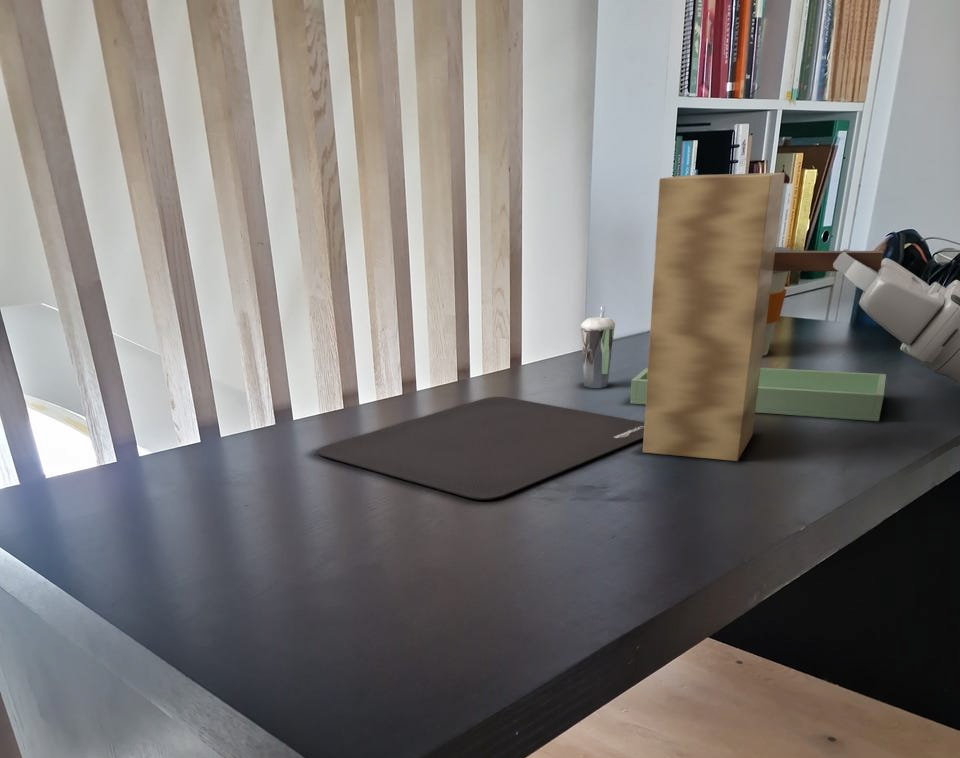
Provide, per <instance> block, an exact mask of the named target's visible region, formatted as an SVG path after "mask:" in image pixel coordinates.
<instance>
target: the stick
mask: <svg viewBox="0 0 960 758" xmlns="http://www.w3.org/2000/svg"><path fill="white" fill-rule="evenodd" d="M843 252H846V253H847V254H849V255H851V256H852V257H854V258H855V259H856V260H857V261H859V262H861V263H862V264H864V265H866V266H867V267H870V268H871V269H873V270H874V271H876V272H879V270H880V268H881V263H882V260H883V259H884V250H850V251H843V250H792V251H775V257H774V265H773V271H788V272H839V271H838V270H836V269H835V268H834V267H833V263H834V262H835V260H836V259H837V258H838V256H839V255H840V254H841V253H843Z"/></svg>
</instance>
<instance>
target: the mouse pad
mask: <svg viewBox="0 0 960 758" xmlns="http://www.w3.org/2000/svg"><path fill="white" fill-rule="evenodd" d="M644 423H645V421H639V420H633V419H627V418H622V417H617V416H611V415H606V414H601V413H595V412H589V411H584V410H578V409H573V408H568V407H562V406H557V405H552V404H551V405H550V404H546V403H545V404H544V403H540V402H534V401H528V400H523V399H518V398H512V397H506V396H491V397H486V398H482V399H479V400H475V401H472V402H469V403H465V404H462V405H458V406H455V407H451V408H448V409H444V410H442V411H438V412H435V413H432V414H428V415H424V416H421V417H418V418H414V419H412V420H408V421H404V422H400V423H398V424H394V425H392V426H387V427H384V428H380V429H377V430H374V431H371V432H368V433H364V434H361V435H358V436H354V437H351V438H347V439H343V440H341V441H337V442H335V443H334V442H333V443H330V444H327V445H324V446H322V447H319V448H318V449H317V450H316V454H317V455H319V456H321V457H323V458H326V459H331V460H334V461H337V462H340V463H346V464H348V465H351V466H355V467H359V468H362V469H366V470H369V471H373V472H376V473H379V474H383V475H386V476H390V477H394V478H398V479H400V480H404V481H408V482H411V483H415V484H418V485H421V486H426V487H428V488H432V489H437V490H439V491H443V492H446V493H450V494H454V495H457V496H460V497H463V498H468V499H471V500H478V501H489V500H496V499H500V498H503V497H507V496H508V495H511V494H513V493H516V492H518V491H521V490H523V489H526V488H528V487H530V486H533V485H535V484H538V483H540V482H542V481H545V480H546V479H550V478H552V477H554V476H557V475H559V474H561V473H563V472H566V471H569V470H571V469H573V468H576V467H579V466H581V465H583V464H586V463H588V462H590V461H593V460H595V459H598V458H600V457H602V456H606V455H607V454H610V453H613V452H614V451H617V450H619V449H622V448H624V447H627V446H628V445H631V444H633V443H637V442H638V441H641V440H643V439H644Z"/></svg>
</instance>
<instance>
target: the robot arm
mask: <svg viewBox="0 0 960 758" xmlns="http://www.w3.org/2000/svg"><path fill="white" fill-rule="evenodd" d="M842 251H851V250H850V249H848V248H844V249H842ZM833 267H834V268H835V269H836V270H838V271H837V272H839V273H840V274H842V275H844V277H846V278H847V279H848V280H849V281H850V282H851V283H852V284H853V285H854V286H855V287H857V288H858V289H860V290H861V291H862V293H861V296H860V298H859V301H858V305H859V307H860V308H861V309H862V311H863V312H864V313H865V314H867V316H868V317H870V318H871V319H872V320H873V321H874V322H876V323H877V324H878V325H880V326H881V327H882V328H883V329H884V330H885V331H886V332H888V333H889V334H891V336H893V337H894V338H896V339H897V341H898V340H899V341H900V342H901V345H900V348H899V349H900V351H901V352H903V353H904V354H906V355H907V356H909V357H911V358H912V359H913V360H915V361H916V362H918V363H919V364H921V365H922V366H923V367H925V368H927V369H929V370H930V371H931V372H933V373H934V374H937V375H939V376H944V377H946V378H949V379H950V380H951V381H954V382H955V383H956V384H957V385H958V386H959V387H960V280H958V279H955V280H953V281H952V282H951V283H949V284H948V285H947V287H945V286H943V285H941V283H939V282H937V281H934V282H933V283H931V285H929V284H928V283H927V282H926V281H924V280H922V279H921V278H920V277H918V276H917V275H916V274H914V273H912V272H911V271H909V269H906V267H903V266H902V265H901V264H899V263H897V262H896V261H894V260H893V259H890V258H888V257H883V258H882V263H881V268H880V270H879V272H876V271H874V270H873V269H871V268H870V267H867V266H866V265H864V264H862V263H861V262H859V261H857V260H856V259H855V258H854V257H852V256H851V255H849V254H847V253H846V252H843V253H841V254H840V255H839V256H838V258H837V259H836V260H835V262H834V263H833Z"/></svg>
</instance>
